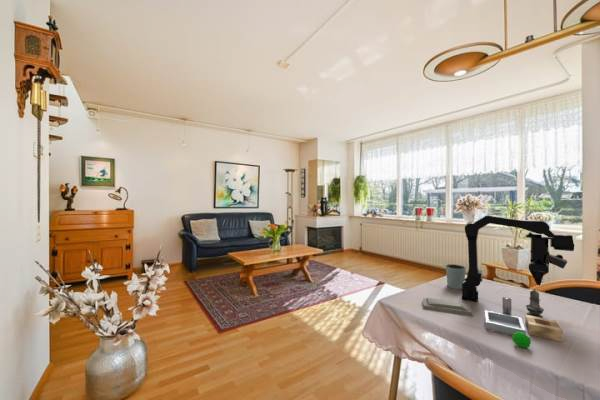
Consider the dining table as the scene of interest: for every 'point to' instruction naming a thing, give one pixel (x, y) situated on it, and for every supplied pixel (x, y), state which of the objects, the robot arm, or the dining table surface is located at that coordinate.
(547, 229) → the robot arm
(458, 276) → the grey-blue cylindrical pot
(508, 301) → the pin
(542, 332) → the square wooden frame
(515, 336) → the green ball
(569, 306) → the dining table surface
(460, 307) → the grey stepped plate
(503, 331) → the tray
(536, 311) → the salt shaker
